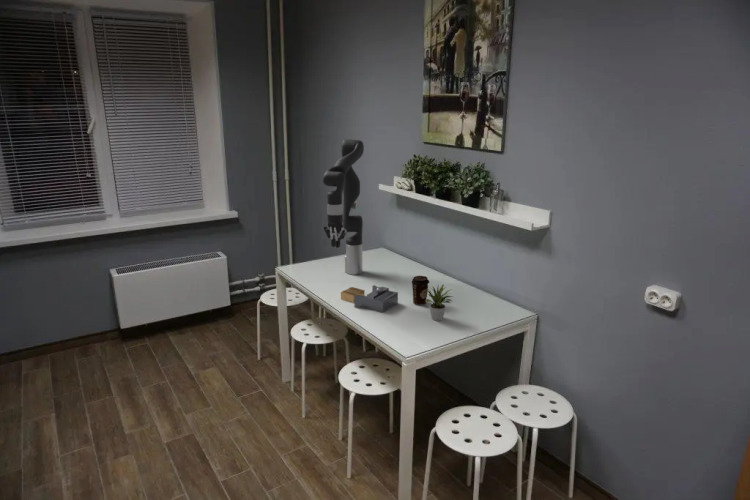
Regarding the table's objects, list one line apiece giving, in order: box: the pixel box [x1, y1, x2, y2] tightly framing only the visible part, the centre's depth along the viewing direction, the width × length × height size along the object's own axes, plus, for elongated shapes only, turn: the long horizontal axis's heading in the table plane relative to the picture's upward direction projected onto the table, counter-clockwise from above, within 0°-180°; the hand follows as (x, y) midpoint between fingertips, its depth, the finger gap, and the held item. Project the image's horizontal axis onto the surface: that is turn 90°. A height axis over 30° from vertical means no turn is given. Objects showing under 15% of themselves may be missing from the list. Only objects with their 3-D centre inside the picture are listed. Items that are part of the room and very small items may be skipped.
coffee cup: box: [411, 275, 430, 306], centre depth 241 cm, size 9×8×13 cm
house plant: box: [424, 283, 453, 322], centre depth 222 cm, size 14×14×16 cm
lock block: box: [340, 286, 366, 304], centre depth 248 cm, size 8×9×4 cm
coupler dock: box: [353, 284, 399, 313], centre depth 240 cm, size 16×17×9 cm
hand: (335, 246), depth 247 cm, fingers closed
